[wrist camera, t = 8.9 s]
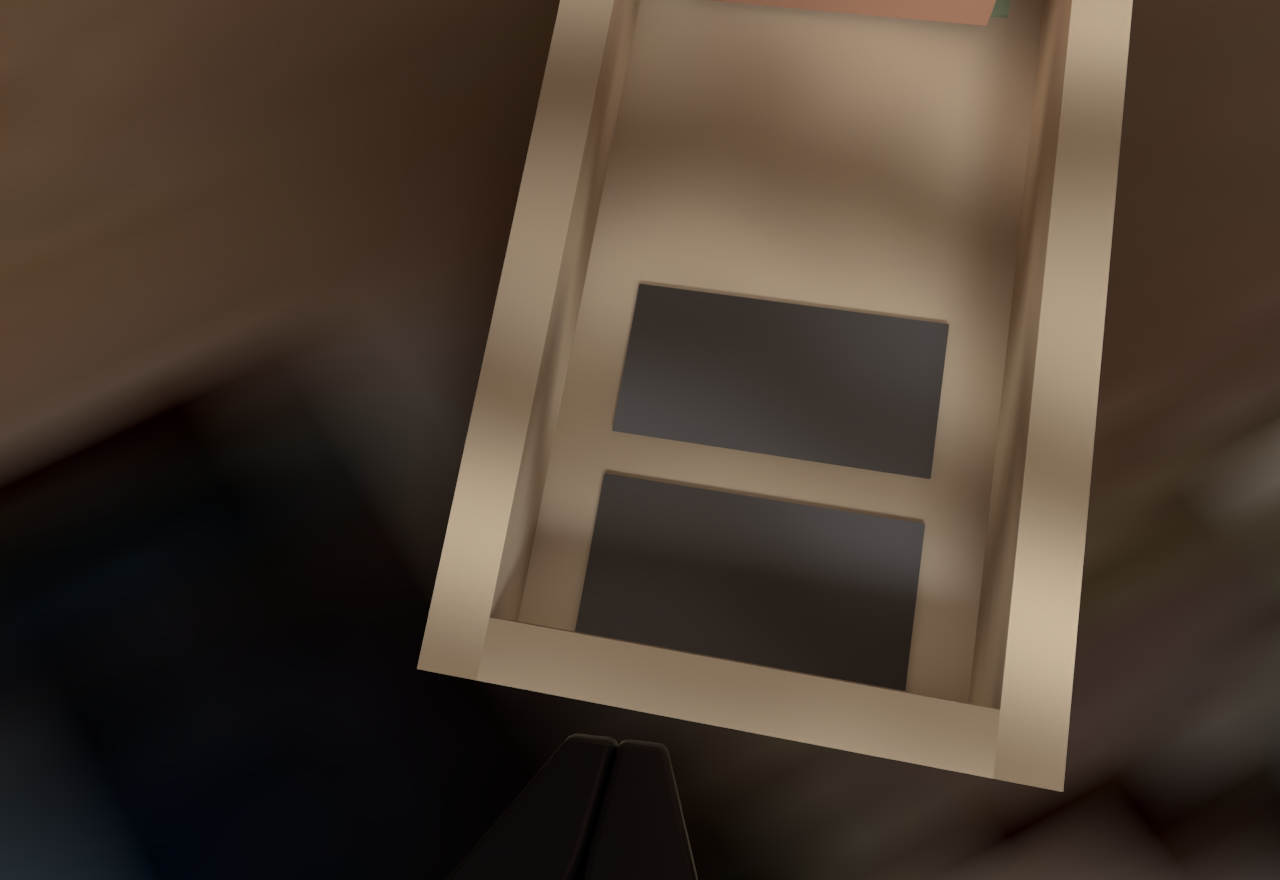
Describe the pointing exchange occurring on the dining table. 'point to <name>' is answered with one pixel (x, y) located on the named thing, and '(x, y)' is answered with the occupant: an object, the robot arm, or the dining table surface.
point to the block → (895, 8)
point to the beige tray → (799, 378)
